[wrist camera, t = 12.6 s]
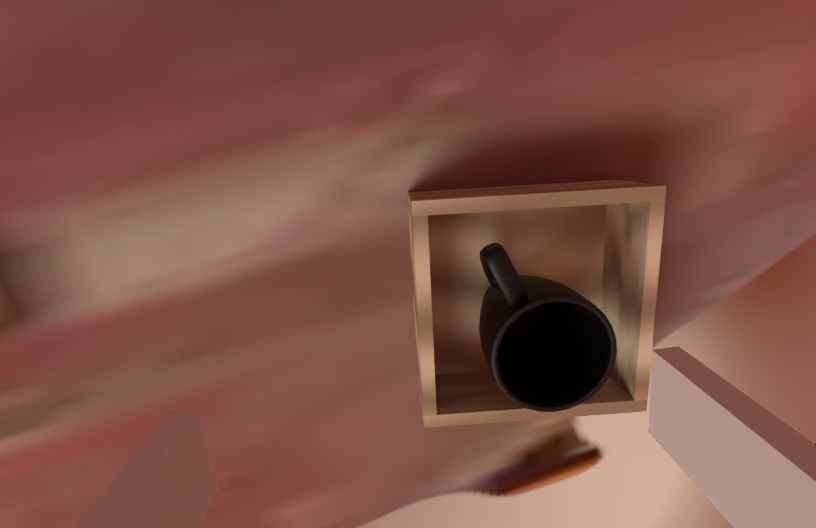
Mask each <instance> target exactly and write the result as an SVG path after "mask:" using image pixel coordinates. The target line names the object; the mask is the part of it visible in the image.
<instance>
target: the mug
mask: <svg viewBox="0 0 816 528" xmlns="http://www.w3.org/2000/svg"><path fill="white" fill-rule="evenodd" d="M480 260H481V264H482V267H483V270H484V273H485V275H486V277H487V279H488V281H489V283H490V285H491V286H490V287H489V288H488V290H487V291H486V293H485V295H484V297H483V300H482V307H481V311H480V320H479V334H480V341H481V347H482V351H483V354H484V357H485V359H486V361H487V364H488V366H489V368H490V371H491V373H492V375H493V377H494V379H495V382H496V384H497V385H498V387H499V388H500V389H501V391H502V392H503V393H504V395H506V396H507V397H508V398H509V399H511V400H512V401H513V402H514V403H516V404H518V405H520V406H522V407H524V408H526V409H530V410H534V411H539V412H556V411H562V410H567V409H570V408H572V407H575V406H577V405H580V404H581V403H583V402H585V401H586V400H588V399H589V398H591V397H592V396H593V395H594V394H595V393H596V392H597V391H599V390H600V389H601V388H602V386H603V385H604V383H605V382H606V381H607V379H608V378H609V376H610V374H611V372H612V369H613V367H614V365H615V359H616V354H617V344H616V336H615V333H614V330H613V327H612V325H611V323H610V321H609V320H608V318H607V317H606V315H605V314H604V313H603V312H602V311H601V310H600V309H599V308H598V307H597V306H595V305H594V304H593V303H592V302H590V301H589V300H587V299H586V298H585V297H583V296H582V295H581V294H579V293H578V292H576V291H575V290H573V289H571V288H569V287H567V286H566V285H564V284H561V283H559V282H557V281H553V280H550V279H546V278H542V277H538V276H524V275H518V273H517V271H516V269H515V267H514V265H513V263H512V261H511V260H510V258H509V256H508V254H507V252H506V251H505V249H504V248H503V246H502V245H500V244H499V243H491V244H489V245H487V246H485V247H484V248H483V249H482V250H481V251H480Z"/></svg>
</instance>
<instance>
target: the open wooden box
mask: <svg viewBox="0 0 816 528" xmlns="http://www.w3.org/2000/svg"><path fill="white" fill-rule="evenodd" d="M666 189H667V185H658V184H649V183H640V182H631V181H622V180H598V181H582V182H566V183H549V184H533V185H516V186H500V187H484V188H467V189H451V190H435V191H418V192H408V208H409V226H410V243H411V261H412V279H413V296H414V314H415V331H416V349H417V367H418V382H419V390H420V398H421V407H422V415H423V423H424V428H427V427H440V426H453V425H467V424H480V423H494V422H507V421H521V420H534V419H547V418H561V417H574V416H587V415H600V414H615V413H628V412H640V411H646V409H647V397H648V387H649V375H650V365H651V354H652V343H653V332H654V321H655V310H656V299H657V288H658V277H659V266H660V255H661V244H662V233H663V222H664V211H665V200H666ZM491 243H499V244H500V245H502V246H503V248H504V249H505V251H506V252H507V254H508V256H509V258H510V260H511V261H512V263H513V265H514V267H515V269H516V271H517V273H518V275H524V276H538V277H542V278H546V279H550V280H553V281H557V282H559V283H561V284H564V285H566V286H567V287H569V288H571V289H573V290H575V291H576V292H578V293H579V294H581V295H582V296H583V297H585V298H586V299H587V300H589V301H590V302H592V303H593V304H594V305H595V306H597V307H598V308H599V309H600V310H601V311H602V312H603V313H604V314H605V315H606V317H607V318H608V320H609V321H610V323H611V325H612V327H613V330H614V333H615V336H616V344H617V354H616V359H615V365H614V367H613V369H612V372H611V374H610V376H609V378H608V379H607V381H606V382H605V383H604V385H603V386H602V388H601V389H600V390H599V391H597V392H596V393H595V394H594V395H593V396H592V397H591V398H589V399H588V400H586V401H585V402H583V403H581V404H580V405H577V406H575V407H572V408H570V409H567V410H562V411H556V412H539V411H534V410H530V409H526V408H524V407H522V406H520V405H518V404H516V403H514V402H513V401H512V400H511V399H509V398H508V397H507V396H506V395H504V393H503V392H502V391H501V389H500V388H499V387H498V385H497V384H496V382H495V379H494V377H493V375H492V373H491V371H490V368H489V366H488V364H487V361H486V359H485V357H484V354H483V351H482V347H481V341H480V334H479V320H480V311H481V307H482V300H483V297H484V295H485V293H486V291H487V290H488V288H489V287H490V286H491V285H490V283H489V281H488V279H487V277H486V275H485V273H484V270H483V267H482V264H481V260H480V251H481V250H482V249H483V248H484V247H485V246H487V245H489V244H491Z"/></svg>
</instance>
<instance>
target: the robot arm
mask: <svg viewBox="0 0 816 528" xmlns="http://www.w3.org/2000/svg"><path fill="white" fill-rule="evenodd" d="M650 389H651V390H650V412H649V432H650V434H651V435H652V436H653V437H654V438H655V439H656V440H657V441H658V443H659V444H660V445H661V446H662V447H663V448H664V449H665V450H666V452H667V453H668V454H669V455H670V456H671V457H672V458H673V460H675V462H676V463H677V464H678V465H679V466H680V467H681V468H682V470H683V471H684V472H685V473H686V474H687V475H688V477H690V479H691V480H692V481H693V482H694V483H695V484H696V486H697V487H698V488H699V489H700V490H701V491H702V492H703V493H704V494H705V496H706V497H707V498H708V499H709V500H710V501H711V503H712V504H713V505H714V506H715V507H716V508H717V509H718V510H719V512H720V513H721V514H722V515H723V516H724V517H725V518H726V519H727V521H728V522H729V523H730V524H731V525H732V526H733V527H734V528H816V444H814V443H812V442H811V441H809V440H808V439H806V438H805V437H804V436H802V435H801V434H800V433H798V432H797V431H795V430H794V429H793V428H791V427H790V426H788V425H787V424H785V423H784V422H783V421H781V420H780V419H779V418H777V417H776V416H774V415H773V414H772V413H770V412H769V411H768V410H766V409H765V408H763V407H762V406H761V405H759V404H758V403H756V402H755V401H754V400H752V399H751V398H750V397H748V396H747V395H745V394H744V393H743V392H741V391H740V390H738V389H737V388H736V387H734V386H733V385H731V384H730V383H729V382H727V381H726V380H724V379H723V378H722V377H720V376H719V375H718V374H716V373H715V372H713V371H712V370H710V369H709V368H708V367H706V366H705V365H703V364H702V363H701V362H699V361H698V360H697V359H695V358H694V357H692V356H691V355H689V354H688V353H687V352H685V351H684V350H683V349H681V348H680V347H672V348H664V349H656V350H652V364H651V388H650ZM218 488H219V486H218V483H217V480H216V476H215V473H214V470H213V467H212V463H211V460H210V457H209V453H208V450H207V447H206V443H205V440H204V437H203V433H202V430H201V427H200V423H199V420H198V417H197V414H196V410H195V409H191V410H183V411H175V412H168V413H167V415H166V416H165V417H164V418H163V420H162V421H161V422H160V423H159V424H158V426H157V427H156V428H155V429H154V431H153V432H152V433H151V434H150V436H149V437H148V438H147V439H146V440H145V442H144V443H143V444H142V445H141V447H140V448H139V449H138V450H137V452H136V453H135V454H134V455H133V456H132V458H131V459H130V460H129V461H128V463H127V464H126V465H125V466H124V468H123V469H122V470H121V471H120V472H119V474H118V475H117V476H116V477H115V479H114V480H113V481H112V482H111V484H110V485H109V486H108V487H107V488H106V490H105V491H104V492H103V493H102V495H101V496H100V497H99V498H98V500H97V501H96V502H95V503H94V504H93V506H92V507H91V508H90V509H89V511H88V512H87V513H86V514H85V516H84V517H83V518H82V519H81V520H80V522H79V523H78V524H77V525H76V527H75V528H199V526H200V524H201V522H202V520H203V518H204V516H205V514H206V512H207V510H208V508H209V506H210V504H211V502H212V500H213V498H214V496H215V494H216V492H217V490H218Z"/></svg>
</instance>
